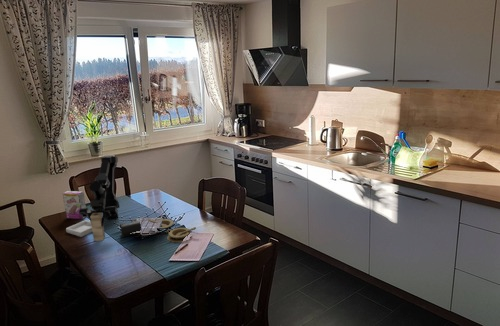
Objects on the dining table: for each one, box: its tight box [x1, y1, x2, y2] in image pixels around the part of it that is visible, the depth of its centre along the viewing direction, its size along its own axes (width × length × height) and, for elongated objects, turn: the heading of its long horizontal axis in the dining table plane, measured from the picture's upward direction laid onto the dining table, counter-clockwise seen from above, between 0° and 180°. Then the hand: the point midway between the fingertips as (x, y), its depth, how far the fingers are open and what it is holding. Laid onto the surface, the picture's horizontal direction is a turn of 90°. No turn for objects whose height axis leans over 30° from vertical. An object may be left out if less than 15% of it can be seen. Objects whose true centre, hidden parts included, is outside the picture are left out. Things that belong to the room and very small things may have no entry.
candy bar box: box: [62, 190, 87, 220], centre depth 229 cm, size 11×5×16 cm, turn 80°
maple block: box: [89, 213, 106, 242], centre depth 199 cm, size 4×4×14 cm
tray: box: [65, 219, 93, 238], centre depth 212 cm, size 13×13×2 cm
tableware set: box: [147, 218, 197, 243], centre depth 206 cm, size 30×20×6 cm, turn 44°
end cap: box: [119, 220, 142, 238], centre depth 204 cm, size 10×7×7 cm
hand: (97, 226), depth 198 cm, fingers closed on maple block, 4 cm apart
